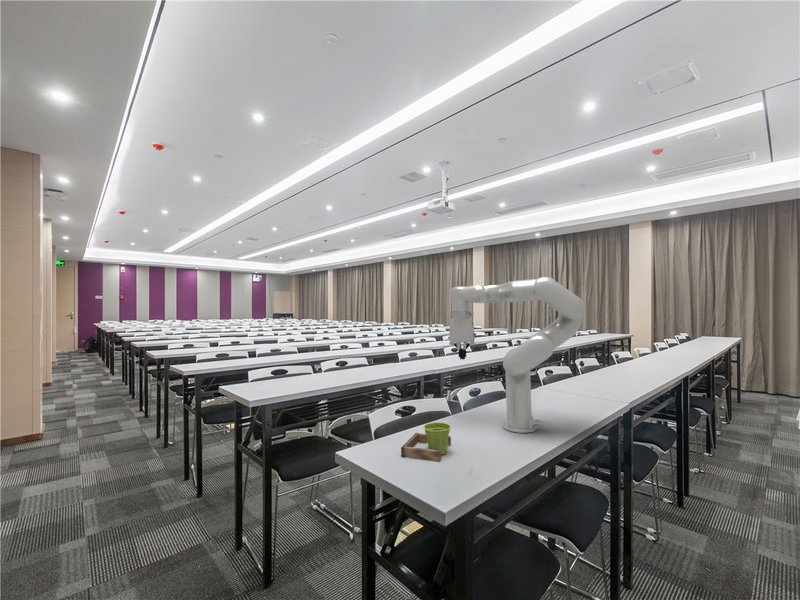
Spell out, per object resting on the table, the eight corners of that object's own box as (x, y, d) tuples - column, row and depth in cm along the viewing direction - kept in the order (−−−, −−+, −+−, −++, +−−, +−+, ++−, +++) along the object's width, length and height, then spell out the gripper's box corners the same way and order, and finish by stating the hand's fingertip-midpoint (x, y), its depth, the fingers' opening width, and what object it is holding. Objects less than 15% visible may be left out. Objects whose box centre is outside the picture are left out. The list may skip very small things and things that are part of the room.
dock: (451, 444, 129) (450, 436, 129) (440, 461, 115) (439, 452, 115) (415, 441, 133) (415, 432, 133) (401, 456, 119) (401, 447, 119)
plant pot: (420, 455, 120) (419, 429, 120) (429, 445, 128) (428, 421, 129) (447, 459, 116) (446, 432, 116) (455, 449, 125) (454, 423, 125)
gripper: (480, 315, 155) (481, 358, 154) (446, 315, 160) (447, 357, 159) (477, 315, 148) (479, 360, 147) (441, 316, 153) (443, 359, 152)
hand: (462, 358), depth 153 cm, fingers closed
